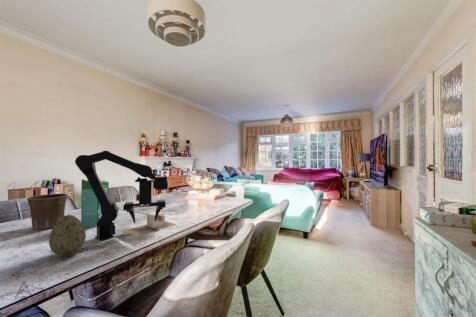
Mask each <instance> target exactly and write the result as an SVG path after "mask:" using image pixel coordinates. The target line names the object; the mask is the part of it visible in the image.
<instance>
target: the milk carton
mask: <svg viewBox="0 0 476 317" xmlns="http://www.w3.org/2000/svg"><path fill="white" fill-rule="evenodd" d="M99 179H100V181H101V183H102V185H103V188H104V190H105V192H106V194H107V196H108V198H109V194H110V193H109V192H110V191H109V189H110V188H109V183H110V182H109V181H105V180H104V179H102V178H99ZM80 192H81V199H80V200H81V202H80V203H81V206H80V207H81V210H80V212H81V216H80V218H81V219H80V221H81V222H82V224H83V226H84V227H96V228H97V222H98V220H99V218H100V217H101V216H102V213H101V208H100V203H99V201H98V199H97V197H96V195H95V193H94V191H93V189H92V187H91V185H90V183H89V181H88V179H87V178H84V179H81V191H80ZM109 199H110V198H109Z"/></svg>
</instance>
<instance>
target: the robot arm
mask: <svg viewBox="0 0 476 317" xmlns="http://www.w3.org/2000/svg"><path fill="white" fill-rule="evenodd" d="M105 160H107V161H108V162H112V163H114V164H117V165H119V166H121V167H124V168H127V169H129V170H130V171H133V173H135V174H137V175H139V176H138V177H136V179H135V180H134V182H135V183H138V184H139V185H138V193H137V194H136V195H135V198H136V199H135V201H136V202H138V203H134V201H128V202H127V201H125V202H124V204H123V211H126V213H129V216H130V217H131V219H132V221H133V224H136V215H135V208H148V207H149V208H150V207H155V211H154V212H155V222H156V219H157V216H158V214H159V212H161V210H164V208H166V204H167V203H166V201H165V200H164V199H159V200H158V199H157V200H156V202H152V199H153V198H152V195H153V193H152V192H153V191H152V189H155V191H167V190H168V188H169V187H168V185H169V184H168V176H167V175H166V176H164V175H163V176H156V175H155V174H153V169H152V168H151V166H149V165H148V164H143V163H138V162H134V161H131V160H129V159H127V158H124V157H123V156H120V155H117V154H115V153H113V152H111V151H109V150H102V151H100V152H97V153H93V154H92V153H91V154H89V155H88V154H81V155H78V156H77V157H76V158H75V160H74V163H75V165H76V166H77V168H78V169H79V171H80V172H82V174H83V175H84V177H86V179H88V181H89V183H90V185H91V187H92V189H93V191H94V193H95V195H96V197H97V199H98V201H99V203H100V208H101V213H102V216H101V217H100V218H99V220H98V222H97V227H96V235H95V237H94V238H95V239H96V240H97V241H99V242H102V241H105V240H108V239H112V238H115V237H116V236H114V235H116V225H115V220H116V219H117V217H118V215H119V210H120V207H118V205H117V202H116V201H113V202H112V201H111V200H110V198H108V196H107V194H106V192H105V190H104V188H103V185H102V183H101V181H100V179H101V178H100V176H99V175H98V174H97V169H96V163H98V162H101V161H105ZM140 177H141V178H140Z"/></svg>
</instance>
